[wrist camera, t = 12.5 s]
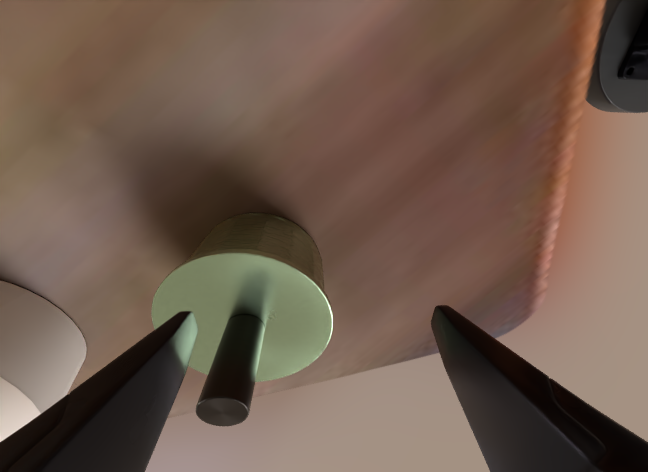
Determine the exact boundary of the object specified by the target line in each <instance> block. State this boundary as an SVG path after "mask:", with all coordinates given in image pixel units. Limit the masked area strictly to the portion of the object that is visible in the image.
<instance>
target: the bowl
mask: <svg viewBox="0 0 648 472" xmlns="http://www.w3.org/2000/svg"><path fill="white" fill-rule="evenodd" d="M86 351H87V348H86V343H85V339H84V337H83V335H82V333H81V331H80V330H79V328H78V327H77V326H76V325H75V323H74V322H73V321H72V320H71V319H70V318H69V317H68V316H67V315H66V314H65V313H64V312H62V311H61V310H60V309H59V308H57V307H56V306H54V305H53V304H51V303H50V302H49V301H47V300H45V299H44V298H42V297H40V296H38V295H36V294H34V293H32V292H30V291H28V290H26V289H23V288H21V287H18V286H16V285H13V284H11V283H7V282H4V281H0V442H1V441H3V440H4V439H6V438H7V437H8V436H10V435H11V434H13V433H14V432H16V431H17V430H19V429H20V428H22V427H23V426H25V425H26V424H27V423H29V422H30V421H32V420H33V419H34V418H36V417H37V416H39V415H40V414H41V413H43V412H44V411H45V410H47V409H48V408H50V407H51V406H52V405H54V404H55V403H56V402H58V401H59V400H61V399H62V398H63V397H65V396H66V394H67V393H68V391H69V389H70V387H71V385H72V383H73V381H74V379H75V377H76V375H77V373H78V371H79V370H80V368H81V366H82V364H83V362H84V360H85V358H86Z"/></svg>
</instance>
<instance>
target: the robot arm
mask: <svg viewBox="0 0 648 472" xmlns="http://www.w3.org/2000/svg"><path fill="white" fill-rule="evenodd" d="M627 71H628V72H627ZM617 77H618V79H620V80H648V9H647V11H646V13H645V15H644V17H643V19H642V22H641V24H640V26H639V28H638V30H637V32H636V34H635V37H634V39H633V41H632V43H631V45H630V47H629V49H628V52H627V54H626V56H625V58H624V60H623V62H622V64H621V67H620V69H619V71H618V74H617ZM431 327H432V330H433V333H434V336H435V339H436V342H437V346H438V349H439V352H440V355H441V358H442V360H443V364H444V367H445V369H446V372H447V374H448V376H449V379H450V381H451V383H452V385H453V388H454V390H455V392H456V394H457V397H458V399H459V401H460V403H461V406H462V408H463V410H464V413H465V415H466V417H467V419H468V422H469V424H470V426H471V429H472V431H473V433H474V435H475V438H476V440H477V442H478V445H479V447H480V449H481V451H482V454H483V456H484V458H485V460H486V463H487V465H488V467H489V470H490V472H648V442H646V441H645V440H644V439H642V438H640V437H639V436H637V435H635V434H634V433H633V432H631V431H629V430H628V429H626V428H625V427H623V426H621V425H620V424H618V423H617V422H615V421H614V420H612V419H610V418H609V417H607V416H606V415H604V414H603V413H601V412H600V411H598V410H597V409H595V408H594V407H592V406H590V405H589V404H587V403H586V402H584V401H583V400H582V399H580V398H579V397H577V396H575V395H574V394H573V393H571V392H570V391H568V390H567V389H566V388H564V387H563V386H561V385H560V384H558V383H557V382H556V381H554V380H553V379H551V378H550V379H549V377H548V376H547V375H546V374H544V373H543V372H541V371H540V370H538V369H537V368H536V367H534V366H533V365H531V364H530V363H528V362H527V361H526V360H524V359H523V358H521V357H520V356H519V355H517V354H516V353H514V352H513V351H511V350H510V349H509V348H507V347H506V346H505V345H503V344H502V343H500V342H499V341H497V340H496V339H495V338H493V337H492V336H490V335H489V334H488V333H486V332H485V331H483V330H482V329H480V328H479V327H478V326H476V325H475V324H473V323H472V322H471V321H469V320H468V319H466V318H465V317H463V316H462V315H461V314H459V313H458V312H456V311H455V310H454V309H452V308H451V307H449V306H447V305H438V306H436V307H435V310H434V313H433V317H432V320H431ZM197 334H198V325H197V322H196V319H195V316H194V313H193V312H192V311H180V312H178V313H177V314H176V315H174V316H173V317H171V318H170V319H169V320H167V321H166V322H165V323H163V324H162V325H161V326H159V327H158V328H157V329H155V330H154V331H153V332H151V333H150V334H149V335H147V336H146V337H144V338H143V339H142V340H140V341H139V342H138V343H136V344H135V345H134V346H132V347H131V348H130V349H128V350H127V351H126V352H124V353H123V354H121V355H120V356H119V357H117V358H116V359H115V360H113V361H112V362H111V363H109V364H108V365H107V366H105V367H104V368H103V369H101V370H100V371H99V372H97V373H96V374H94V375H93V376H92V377H90V378H89V379H88V380H86V381H85V382H84V383H82V384H81V385H80V386H78V387H77V388H76V389H74V390H73V391H71V392H70V395H69V394H68V395H66V396H65V397H63V398H62V399H61V400H59V401H58V402H56V403H55V404H54V405H52V406H51V407H50V408H48V409H47V410H45V411H44V412H43V413H41V414H40V415H39V416H37V417H36V418H34V419H33V420H32V421H30V422H29V423H27V424H26V425H25V426H23V427H22V428H20V429H19V430H17V431H16V432H14V433H13V434H11V435H10V436H8V437H7V438H6V439H4V440H3V441H1V442H0V472H145V470H146V467H147V465H148V463H149V460H150V458H151V455H152V453H153V451H154V448H155V446H156V443H157V441H158V439H159V436H160V434H161V431H162V429H163V427H164V424H165V422H166V420H167V417H168V415H169V412H170V410H171V408H172V405H173V403H174V400H175V398H176V396H177V393H178V391H179V388H180V386H181V384H182V381H183V378H184V376H185V373H186V370H187V367H188V364H189V360H190V357H191V354H192V350H193V347H194V344H195V340H196V337H197Z"/></svg>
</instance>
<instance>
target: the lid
mask: <svg viewBox="0 0 648 472" xmlns="http://www.w3.org/2000/svg"><path fill="white" fill-rule="evenodd" d="M180 311H192V312H193V313H194V316H195V319H196V322H197V325H198V334H197V337H196V340H195V344H194V347H193V350H192V354H191V357H190V360H189V364H188V366H189V367H191V368H193V369H195V370H197V371H199V372H201V373H204V374H206V375H208V376H207V379H206V382H205V384H204V387H203V390H202V393H201V395H200V398H199V401H198V403H197V406H196V414H197V416H198V417H199V418H200V419H201V420H202V421H204V422H206V423H209V424H212V425H216V426H232V425H236V424H239V423H241V422H243V421H244V420H245V419H246V418H247V417H248V415H249V411H250V406H251V400H252V395H253V390H254V385H255V382H261V381H269V380H275V379H279V378H282V377H286V376H288V375H291V374H294V373H296V372H298V371H300V370H302V369H303V368H305V367H307V366H308V365H310V364H311V363H312V362H313V361H315V360H316V359H317V358H318V357H319V356H320V355H321V353H322V352H323V351H324V349H325V348H326V346H327V344H328V342H329V340H330V337H331V334H332V329H333V314H332V309H331V304H330V301H329V299H328V297H327V295H326V293H325V291H324V290H323V288H322V287H321V285H320V284H319V283H318V282H317V281H316V280H315V278H313V277H312V276H311V275H310V274H309V273H308V272H307V271H305V270H304V269H302V268H301V267H299V266H298V265H296V264H294V263H293V262H291V261H289V260H287V259H284V258H282V257H279V256H277V255H274V254H270V253H266V252H262V251H256V250H249V249H225V250H217V251H212V252H208V253H204V254H201V255H198V256H195V257H193V258H191V259H189V260H187V261H185V262H184V263H182V264H181V265H179V266H178V267H176V268H175V269H174V270H173V271H172V272H171V273H170V274H168V276H167V277H166V278H165V279H164V281H163V282H162V283H161V285H160V286H159V287H158V289H157V291H156V293H155V295H154V299H153V303H152V313H151V314H152V322H153V325H154V329H157V328H158V327H159V326H161V325H162V324H163V323H165V322H166V321H167V320H169V319H170V318H171V317H173V316H174V315H176V314H177V313H178V312H180Z"/></svg>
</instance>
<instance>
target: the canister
mask: <svg viewBox="0 0 648 472" xmlns="http://www.w3.org/2000/svg"><path fill="white" fill-rule="evenodd" d="M225 249H249V250H256V251H262V252H266V253H270V254H274V255H277V256H279V257H282V258H284V259H287V260H289V261H291V262H293V263H294V264H296V265H298V266H299V267H301V268H302V269H304V270H305V271H307V272H308V273H309V274H310V275H311V276H312V277H313V278H315V280H316V281H317V282H318V283H319V284H320V285H321V287H322V288H323V290H324V280H323V269H322V259H321V257H320V254H319V251H318V249H317V246H316V245H315V243H314V241H313V240H312V238H311V237H310V236H309V235H308V234H307V233H306V232H305V231H304V230H303V229H302V228H301V227H299V226H298V225H297V224H295V223H293V222H291V221H290V220H287V219H285V218H283V217H280V216H276V215H273V214H267V213H246V214H241V215H237V216H234V217H231V218H229V219H227V220H225V221H223V222H221V223H220V224H218V225H217V226H216V227H215V228H214V229H213V230H212V231H211V232H210V233H209V234H208V235H207V237H206V238H205V239H204V240H203V241H202V242H201V244H200V245H199V246H198V247H197V249H196V250H195V251H194V253H193V254H192V255H191V257H190V258H189V259H191V258H193V257H195V256H198V255H201V254H204V253H208V252H212V251H217V250H225ZM189 259H188V260H189Z"/></svg>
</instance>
